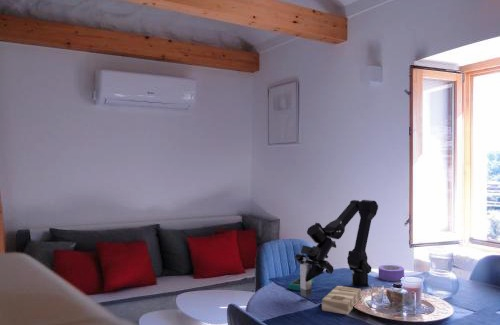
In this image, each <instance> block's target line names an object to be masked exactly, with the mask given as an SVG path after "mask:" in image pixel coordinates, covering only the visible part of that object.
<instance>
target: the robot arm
mask: <svg viewBox="0 0 500 325" xmlns="http://www.w3.org/2000/svg"><path fill="white" fill-rule="evenodd" d="M378 209H379V204H378V203H377V201H376V200H371V199H362V200H359V199H358V200H356V199H353V200H350V202H349V204H348V205H347V206H346V207H345V208H344V210H343V211H342V212H341V213H340V215H338V217H337V218H335V219H334V220H332V221H330V222H329V223H327V224H326V225H325V226H324V227H323V226H322V225H321V223H319V222H315V223H314V224H312V225H310V226H309V227H308V228H307V230H306V234H307V235H308V237H310V238H311V240H312V241H313V242H314V243H315V244H316V245H313V246H312V247H311V246H308V245H302V247H301V252H300V253H296V254H295V256H294V259H295V260H296V261H297V263H299V265H300V264H303V263H308V264H311V270H310V272H309V274H308V276H307V277H306V280H305V281H306V282H308V281H309V280H311V279H314V278H316V277H317V276H319V275H322V274H324V271H325V273H326V274H328V275H332V274H333V272H334V266H333V265H332V263H330V262H329V261H328V260H325V259H328V258H329V252H330V251H331V249H332V248H333V249H334V248H337V244H336V241H335V240H340V239H341V238H342V236H343V235H344V233H345V229H346V227H347V225H348V224H349V223H350V221H351V220H352V219H353V218H354V216H355V215H357V213H358V214H359V218H360V219H359V224H358V228H357V232H356V239H355V243H354V248H353V249H352V250H349V251H348V252H347V253H348V254H347V255H348V256H347V257H346V259H347V264H348V268H349V270H350V271H352V273H351V283H352V285H353V286H354V287H370V285H369V274H370V273H371V272H372V266H371V265H370V264H369V262H368V254H367V252H366V248H367V243H368V239H369V234H370V228H371V224H372V220H373V219H374V218H375V217H376V215H377V213H378ZM333 239H334V240H333Z"/></svg>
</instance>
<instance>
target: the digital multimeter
mask: <svg viewBox="0 0 500 325" xmlns="http://www.w3.org/2000/svg"><path fill="white" fill-rule="evenodd" d="M314 281H315V279H314V278H313V279H311V285H313V284H314V283H315V282H314ZM312 283H313V284H312ZM287 285H288V290H291V289H292V291H300V292H301V288H300V276H299V277H297V278H296V279H295V280H293V281H292V282H290V283H289V284H287Z"/></svg>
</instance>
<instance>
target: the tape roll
mask: <svg viewBox="0 0 500 325" xmlns="http://www.w3.org/2000/svg"><path fill="white" fill-rule="evenodd" d="M402 277H404V278H405V267H403V266H402V265H396V264H383V265H379V266H378V278H379V279H381V280H383V281H388V282H400V281H399V280H400V279H401V278H402Z"/></svg>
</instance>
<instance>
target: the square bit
mask: <svg viewBox="0 0 500 325" xmlns="http://www.w3.org/2000/svg"><path fill="white" fill-rule="evenodd" d="M311 267H312V265H311V264H308V263H303V264H300V263H299V277H300V288H301V291H300V296H302V297H304V298H307V297H312V295H313V294H312V293H313V292H312V284H311V280H309V281H308V282H306V281H305V280H306V277H307V276H308V274H309V272H310V270H311Z"/></svg>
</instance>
